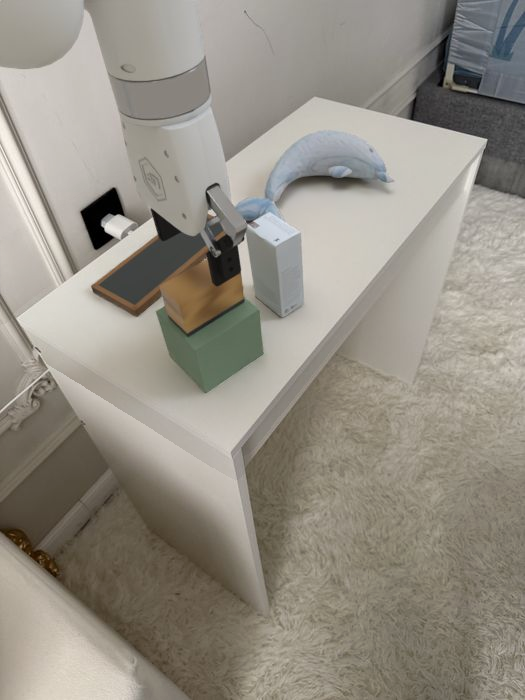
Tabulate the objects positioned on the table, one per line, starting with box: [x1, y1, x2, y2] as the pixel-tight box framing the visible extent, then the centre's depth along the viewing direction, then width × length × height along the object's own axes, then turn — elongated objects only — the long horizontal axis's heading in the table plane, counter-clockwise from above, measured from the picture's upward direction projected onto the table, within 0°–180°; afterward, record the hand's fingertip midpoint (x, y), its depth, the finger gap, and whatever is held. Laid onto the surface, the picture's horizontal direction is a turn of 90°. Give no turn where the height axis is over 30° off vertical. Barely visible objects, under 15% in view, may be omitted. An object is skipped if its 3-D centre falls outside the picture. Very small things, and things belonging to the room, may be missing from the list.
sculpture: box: [234, 129, 395, 223], centre depth 84 cm, size 18×8×25 cm
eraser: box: [159, 258, 245, 337], centre depth 58 cm, size 8×4×5 cm, turn 130°
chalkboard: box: [90, 213, 226, 317], centre depth 78 cm, size 22×9×1 cm, turn 144°
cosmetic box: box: [245, 212, 305, 318], centre depth 67 cm, size 6×4×12 cm
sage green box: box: [155, 296, 264, 394], centre depth 63 cm, size 9×8×8 cm
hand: (198, 255), depth 54 cm, fingers open, 9 cm apart
